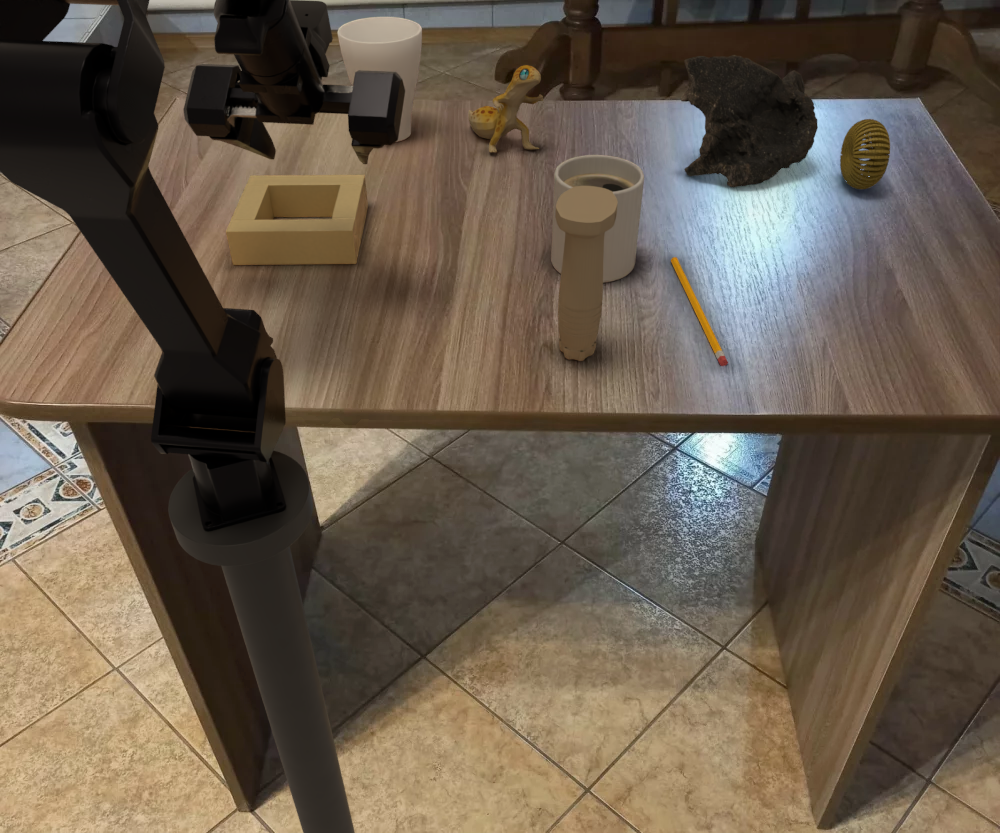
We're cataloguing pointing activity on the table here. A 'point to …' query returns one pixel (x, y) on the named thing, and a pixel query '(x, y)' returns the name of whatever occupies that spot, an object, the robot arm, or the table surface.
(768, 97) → the rock
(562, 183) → the mug
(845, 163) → the sculpture
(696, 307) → the pencil
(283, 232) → the stand
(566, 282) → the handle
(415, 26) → the cup
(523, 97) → the toy
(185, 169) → the table surface
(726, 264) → the table surface
